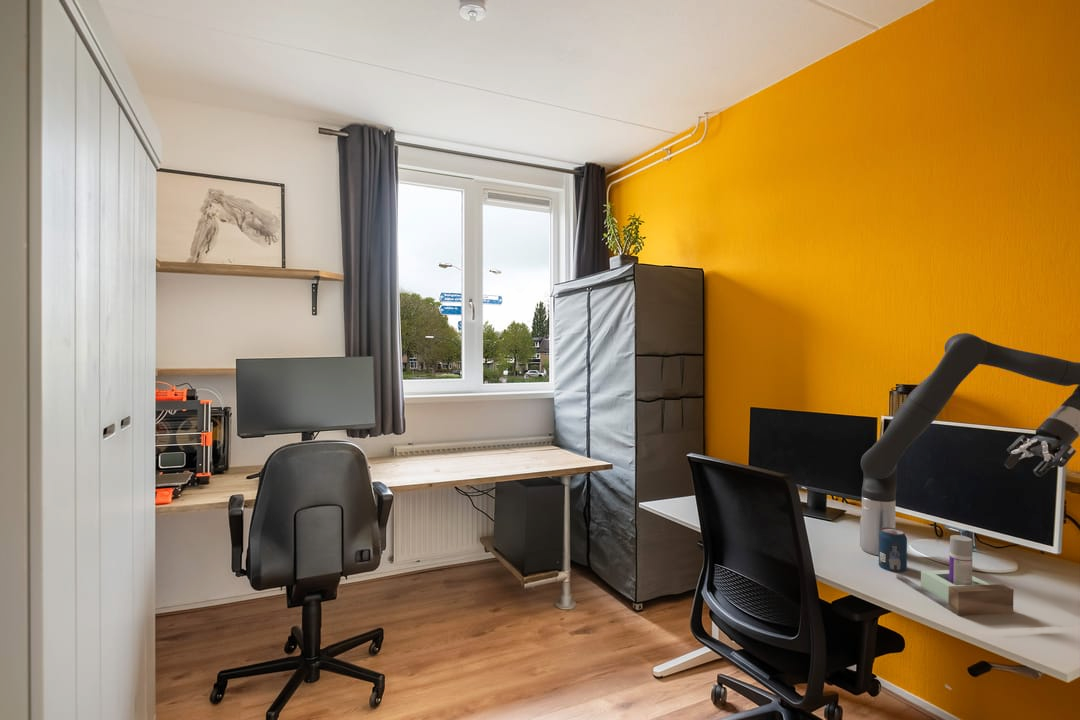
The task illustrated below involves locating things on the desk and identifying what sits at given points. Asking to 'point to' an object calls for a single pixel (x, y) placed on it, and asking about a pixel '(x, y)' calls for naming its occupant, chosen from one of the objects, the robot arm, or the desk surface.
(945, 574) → the socket block
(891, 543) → the soda can
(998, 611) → the walnut track
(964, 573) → the container
